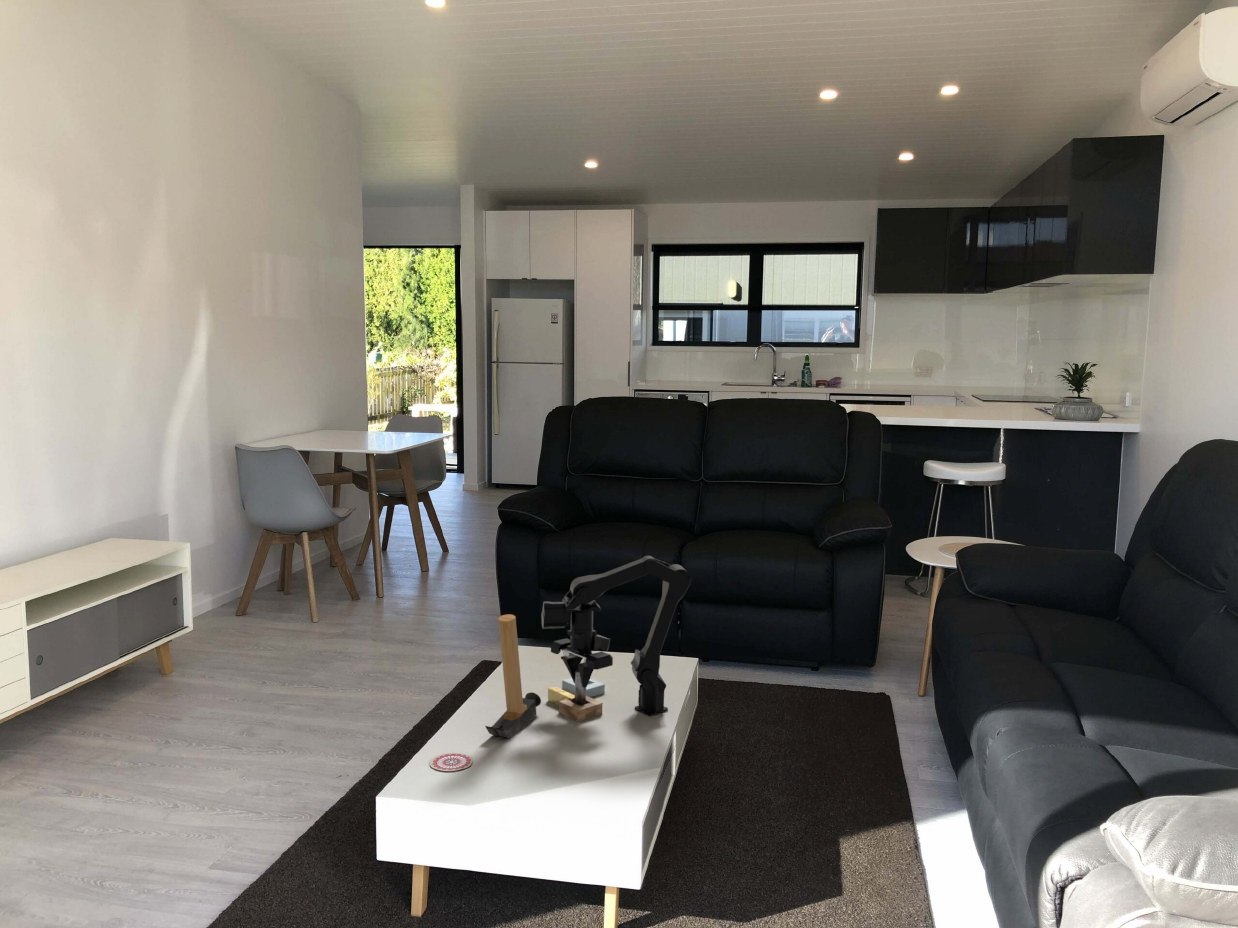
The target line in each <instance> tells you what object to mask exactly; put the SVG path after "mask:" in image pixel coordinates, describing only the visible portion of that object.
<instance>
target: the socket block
mask: <svg viewBox="0 0 1238 928" xmlns="http://www.w3.org/2000/svg"><path fill="white" fill-rule="evenodd" d="M558 713H560V714H562V715H564V716H566V717H568V718H569V719H572V720H575V721H576V722H578V723H580V722H582V721H585V720H588V719H592V718H595V717H597V716H600V715H603V702H601V701H600V700H597V699H595V698H593V697H588V696H586V704H585V705H581V706H579V705H577V704H574V703H572V701H570V700H568V699H565V700H562V701H559V705H558Z"/></svg>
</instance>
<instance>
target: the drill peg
mask: <svg viewBox="0 0 1238 928" xmlns="http://www.w3.org/2000/svg"><path fill="white" fill-rule="evenodd" d="M574 695H575V704H577V705H579V706H581V705H585V704H586V687H585V688H583V686H582V683H581V678H580V673H579V669H577V670H575V694H574Z"/></svg>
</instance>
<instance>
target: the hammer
mask: <svg viewBox="0 0 1238 928" xmlns="http://www.w3.org/2000/svg"><path fill="white" fill-rule="evenodd" d="M497 618H498V631H499V639H500V640H499V641H500V648H501V649H500V650H501V663H502V670H503V671H502V672H503V683H504V694H505V695H504V696H505V705H506V711H504V713H503V714H502V715H501V716H500V717H499V718H498V719H497V720H496V722H495V723H494V724H493V725H492V726H488V725H485V729H486V730H487V732H488V734H489V735H491V736H497V737H502V738H507V739H511V738H513V737H515V735H517V734H518V733H519V732H520V731H522V730H523V729H524V728H526V727H527V726H528V725H529V724H530V723H531V722H532V720H533V719H534V718H535V717H536V716H537V707H539V706H541V704H542V699H541V697H540V696H539V695H538V694H537V693H535V692H528V693H526V694H525V697H523V690H522V688H523V687H522V678H521V666H520V654H519V653H520V651H519V641H518V632H517V619H516V615H514V614H511V613H510V614H502V615H501V616H499V617H497Z"/></svg>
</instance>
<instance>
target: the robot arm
mask: <svg viewBox="0 0 1238 928" xmlns="http://www.w3.org/2000/svg"><path fill="white" fill-rule="evenodd" d="M646 575H652V576H655V577H657V578H658V579H660V580H662V586H661V587H662V588H661V589H662V591H661V592H662V593H661V599H660V601H659V604H658V607H657V610H656V613H655V616H654V619H653V622H652V624H651V627H650V630H649V633H648V636H647V639H646V641H645V645H644V646H643V647H642V649H640V650H639V649H635V651H634V655H633V659H632V660H631V661H630V665H632V666H631V670H632V673H633V676H634V677H635V679H636V680H637V683H639V689H638V702H637V703H638V704H637V705H636V706H634V709H635V710H637V711H639V712H642V713H644V714H646V715H649V716H654V715H658V714H660V713H663V712H666V711H668V710H669V708H668V707H666V706H665V690H666V688H667V684H666V682H665V680H664V679H663V677H662V676H661V674H660V667H661V652H662V649H663V646H664V643H665V640H666V638H667V636H668V632H669V628H670V625H671V623H672V620H673V617H674V614H675V612H676V609H677V607H678V603H679V602H680V600H682V598H683V597H684V596H685V595H686V593H687V591H688V589H689V587H690V586H691V582H692V577H691V574H690V573H689V571H688V570H686V569H685V568H684V567H683V566H682V565H680V564H676V563H674V564H670V563H667V562H666V561H661V560H659V559H656V558H655V557H653V556H651V555H645V556H643V557H641V558H639V559H637V560H635V561H632V562H629V563H626V564H624V565H621V566H619V567H616V568H613V569H610V570H608V571H606V572H603V573H599V574H588V575H584V576H578V577H576V578H574V579H573V580H572V581H571V584H570V586H569V587H570V588H569V591H568V592H567V593H566V594H565V595H564V597H563V599H562V601H547V600H546V601H543V602H542V603H543V604H542V611H541V627H542V629H543V630H544V629H564V628H565V627H567V626H568V625H569V623H570V629H569V630H566V634H567V636H570V639H569V638H567V637H566V638H563V639H558V640H553V641H552V643H551V645H550V653H553V654H554V655H559V654H560V653H561V652H562V656H560V659H561V660H562V661H563V663H564V665H565V667H566V669H567V671H568V673H569V674H570V678H572V679H573V681H574V684H575V670H577V669H579V673H580V678H581V683H582V686H583V688H585V687H587V685H588V682H589V680H590V679H591V676H592V674H593V672H594V670H598V671H599V670H601V669H604V668H608V667H611V666H613V665H614V663H613V662H614V657H613V655H611V654H609V653H607V652H605V651H609V647H610V642H611V641H612V640H611V638H607V637H605V636H603V635H600V634H598V633H597V630H595V629H594V626H593V625H594V612H601V610H602V608H601V606H600V605H599V604H598V603H597V602H596V599H598V598H600V597H601V596H602V595H603V594H604V593H605V592H607V591H609V590H610V589H613V588H616V587H619V586H621V585H623V584H626V583H629V582H632V581H635V580H636V579H639V578H641V577H644V576H646ZM598 650H604V651H598ZM593 652H594V653H593ZM582 660H583V661H582Z"/></svg>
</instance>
